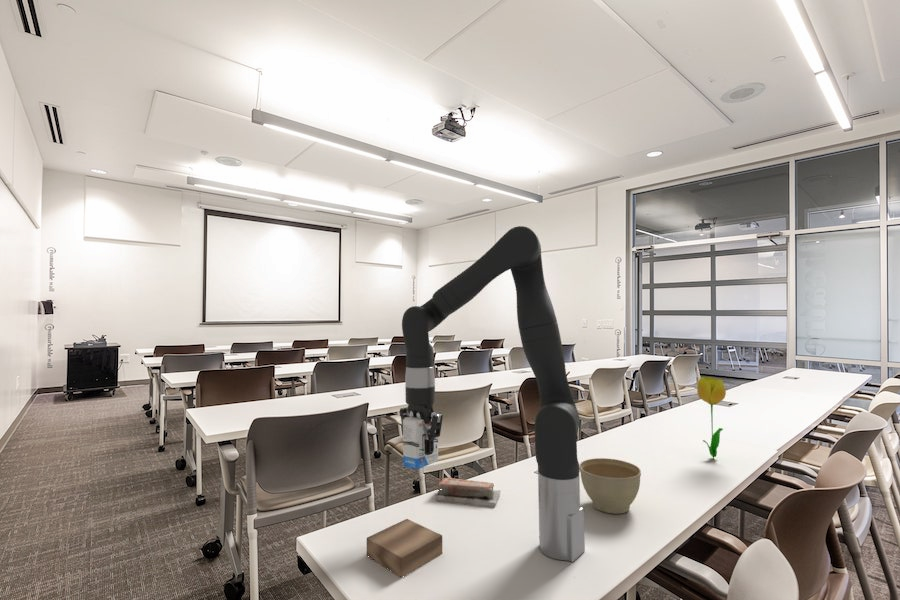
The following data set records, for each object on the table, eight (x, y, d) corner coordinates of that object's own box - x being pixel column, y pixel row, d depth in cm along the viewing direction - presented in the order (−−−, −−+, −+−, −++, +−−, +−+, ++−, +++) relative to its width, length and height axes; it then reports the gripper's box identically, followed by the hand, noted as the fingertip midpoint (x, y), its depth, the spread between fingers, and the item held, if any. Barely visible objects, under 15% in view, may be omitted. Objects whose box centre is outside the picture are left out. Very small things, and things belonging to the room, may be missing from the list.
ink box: (416, 470, 102) (416, 421, 102) (402, 466, 105) (401, 418, 105) (439, 460, 108) (438, 414, 109) (425, 457, 112) (424, 412, 112)
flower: (705, 461, 152) (702, 378, 154) (696, 454, 160) (693, 375, 162) (731, 463, 151) (728, 378, 152) (721, 455, 159) (718, 375, 160)
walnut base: (442, 553, 95) (442, 535, 95) (401, 578, 86) (401, 558, 86) (406, 535, 103) (406, 518, 103) (366, 556, 94) (366, 537, 94)
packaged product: (434, 485, 122) (443, 473, 132) (434, 502, 122) (443, 489, 132) (495, 491, 118) (500, 478, 127) (496, 509, 118) (501, 494, 127)
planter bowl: (612, 491, 128) (611, 454, 128) (655, 514, 113) (654, 472, 113) (568, 500, 122) (567, 461, 122) (607, 525, 107) (606, 481, 107)
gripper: (450, 385, 105) (451, 454, 105) (412, 380, 115) (413, 443, 114) (428, 389, 100) (429, 462, 99) (390, 383, 110) (391, 449, 109)
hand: (420, 451), depth 107 cm, fingers closed on ink box, 5 cm apart
